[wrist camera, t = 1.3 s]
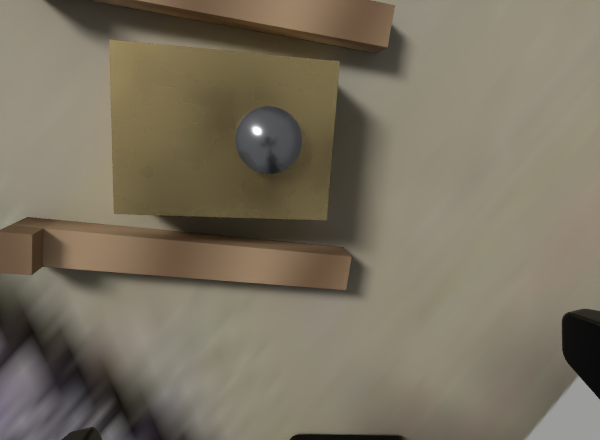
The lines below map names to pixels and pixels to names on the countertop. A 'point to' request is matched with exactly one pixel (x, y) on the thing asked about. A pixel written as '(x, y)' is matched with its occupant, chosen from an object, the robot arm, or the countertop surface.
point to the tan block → (220, 132)
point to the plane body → (202, 247)
